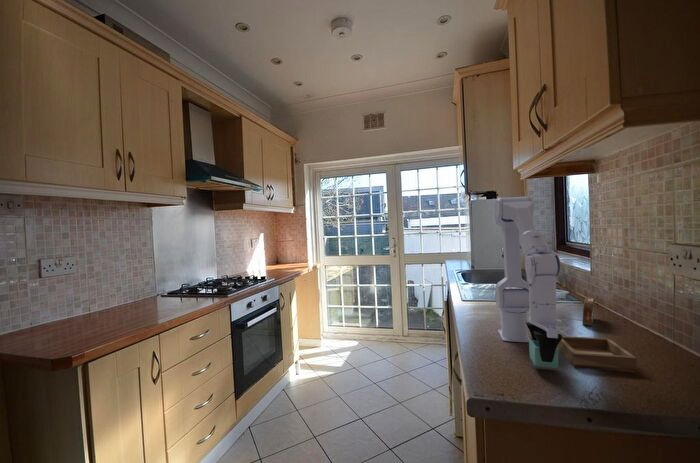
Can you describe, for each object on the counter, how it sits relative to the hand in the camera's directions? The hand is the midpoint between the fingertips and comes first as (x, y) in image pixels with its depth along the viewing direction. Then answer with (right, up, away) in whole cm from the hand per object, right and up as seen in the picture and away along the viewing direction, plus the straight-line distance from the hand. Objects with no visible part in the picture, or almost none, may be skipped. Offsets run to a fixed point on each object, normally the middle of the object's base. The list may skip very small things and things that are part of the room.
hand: (543, 356), depth 80 cm
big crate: (+16, -3, +5) cm, 17 cm away
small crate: (0, -2, 0) cm, 2 cm away
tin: (+36, -1, +34) cm, 49 cm away
